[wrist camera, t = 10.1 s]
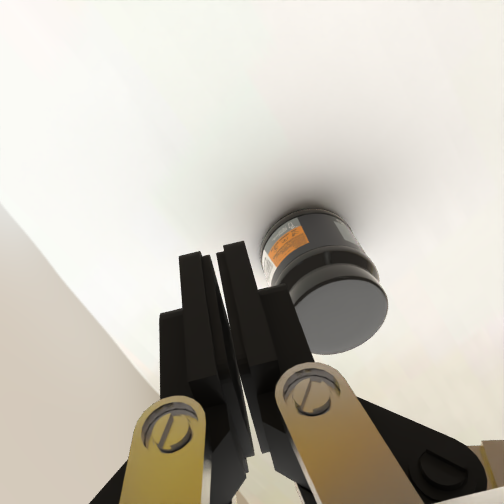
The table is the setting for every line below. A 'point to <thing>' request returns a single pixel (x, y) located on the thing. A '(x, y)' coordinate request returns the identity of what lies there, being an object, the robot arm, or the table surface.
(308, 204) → the table surface
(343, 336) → the supplement container
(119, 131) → the table surface
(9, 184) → the table surface
